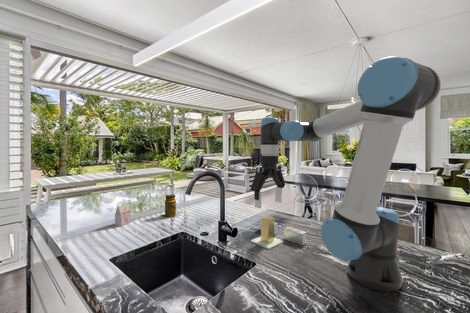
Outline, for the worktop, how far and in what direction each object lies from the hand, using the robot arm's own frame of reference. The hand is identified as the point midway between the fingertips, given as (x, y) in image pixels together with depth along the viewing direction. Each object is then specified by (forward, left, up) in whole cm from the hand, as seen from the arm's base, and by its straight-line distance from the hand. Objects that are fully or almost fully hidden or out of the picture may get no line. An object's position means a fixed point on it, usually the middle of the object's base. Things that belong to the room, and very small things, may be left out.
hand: (268, 204), depth 101 cm
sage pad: (0, 0, -17) cm, 17 cm away
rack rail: (0, -10, -17) cm, 19 cm away
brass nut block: (0, 0, -16) cm, 16 cm away
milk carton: (+63, +39, -17) cm, 76 cm away
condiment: (+60, +15, -17) cm, 64 cm away
